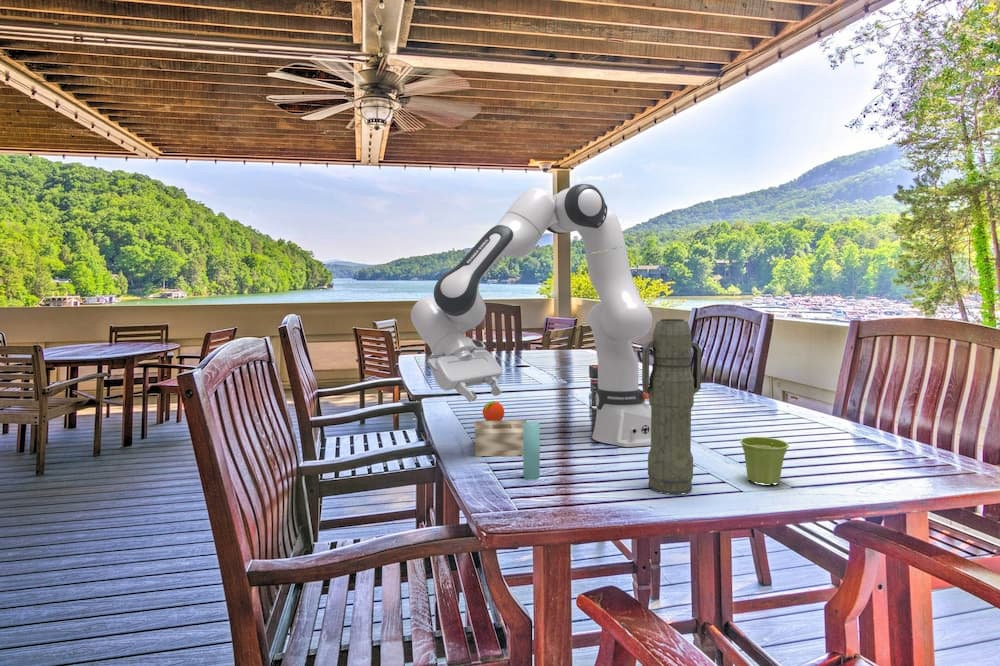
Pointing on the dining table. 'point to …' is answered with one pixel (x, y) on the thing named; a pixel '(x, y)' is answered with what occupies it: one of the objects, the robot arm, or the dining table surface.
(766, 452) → the plant pot
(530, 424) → the teal pin
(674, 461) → the thermos
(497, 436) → the maple block
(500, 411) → the clementine
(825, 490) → the dining table surface
